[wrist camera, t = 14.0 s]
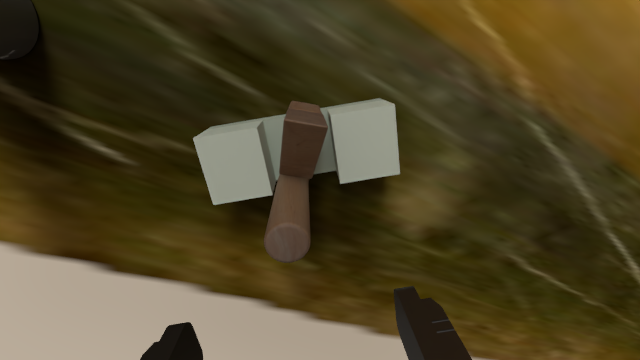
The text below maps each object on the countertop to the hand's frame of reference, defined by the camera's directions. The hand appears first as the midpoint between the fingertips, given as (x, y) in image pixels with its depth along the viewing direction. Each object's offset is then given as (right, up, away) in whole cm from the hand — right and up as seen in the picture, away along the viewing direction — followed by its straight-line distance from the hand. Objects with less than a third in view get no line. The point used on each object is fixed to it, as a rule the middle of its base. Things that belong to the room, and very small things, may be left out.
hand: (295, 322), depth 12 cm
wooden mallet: (-2, +10, +27) cm, 29 cm away
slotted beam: (-2, +11, +29) cm, 31 cm away
